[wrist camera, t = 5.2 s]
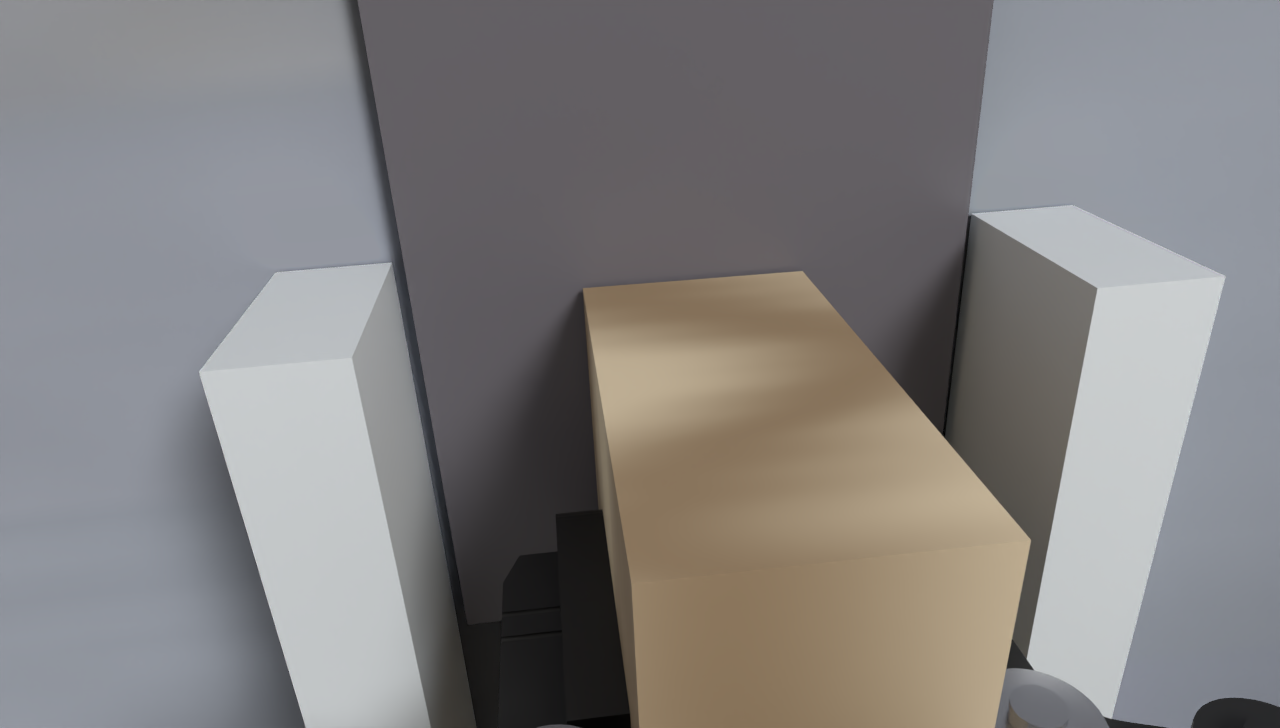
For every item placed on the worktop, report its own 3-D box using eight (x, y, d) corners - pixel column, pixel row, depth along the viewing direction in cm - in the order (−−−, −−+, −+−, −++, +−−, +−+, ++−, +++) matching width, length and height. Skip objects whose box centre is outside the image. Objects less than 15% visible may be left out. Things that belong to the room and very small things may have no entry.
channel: (1144, -213, 10) (1366, -273, 7) (952, 911, 19) (1021, 1067, 17) (166, -174, 9) (19, -225, 7) (450, 990, 18) (438, 1168, 16)
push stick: (803, 271, 12) (1031, 539, 6) (779, 778, 16) (905, 1190, 11) (582, 288, 12) (631, 583, 6) (619, 799, 16) (667, 1231, 11)
